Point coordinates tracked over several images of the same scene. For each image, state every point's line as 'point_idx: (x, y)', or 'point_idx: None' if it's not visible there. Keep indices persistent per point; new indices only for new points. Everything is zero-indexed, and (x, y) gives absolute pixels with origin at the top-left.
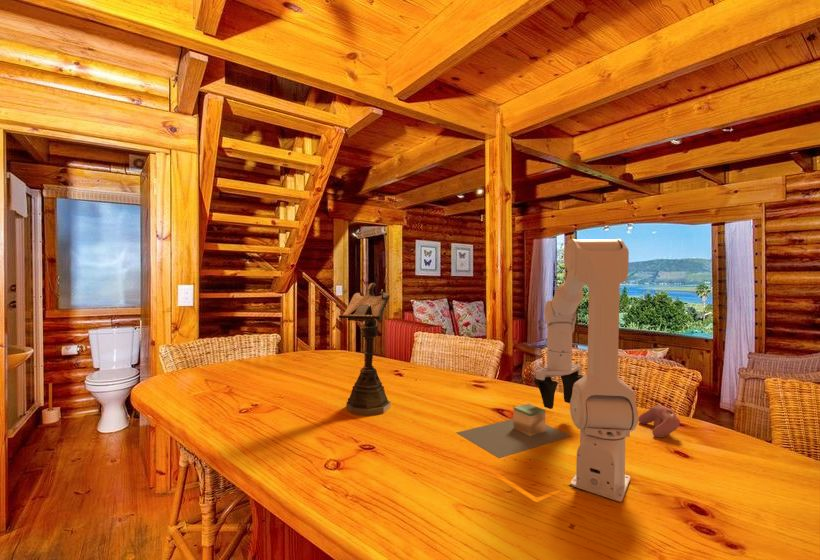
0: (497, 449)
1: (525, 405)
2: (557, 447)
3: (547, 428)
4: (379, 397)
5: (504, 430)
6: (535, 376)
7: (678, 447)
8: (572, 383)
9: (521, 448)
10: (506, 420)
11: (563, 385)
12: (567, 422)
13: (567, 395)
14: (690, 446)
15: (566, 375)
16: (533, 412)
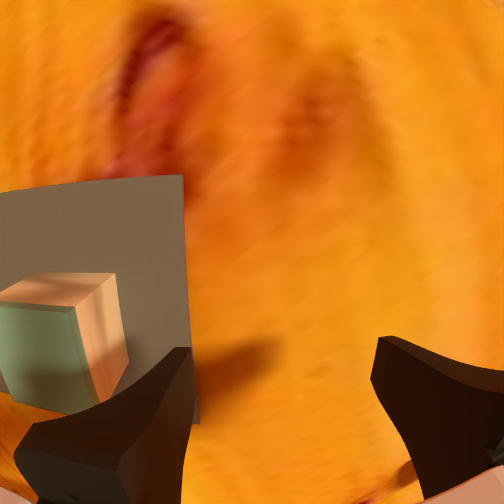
0: None
1: (35, 322)
2: None
3: (162, 346)
4: None
5: (3, 270)
6: (33, 452)
7: (387, 493)
8: (431, 464)
9: (3, 384)
10: (59, 185)
11: (441, 378)
12: (332, 315)
13: (396, 377)
14: (408, 490)
15: (479, 461)
16: (30, 402)
